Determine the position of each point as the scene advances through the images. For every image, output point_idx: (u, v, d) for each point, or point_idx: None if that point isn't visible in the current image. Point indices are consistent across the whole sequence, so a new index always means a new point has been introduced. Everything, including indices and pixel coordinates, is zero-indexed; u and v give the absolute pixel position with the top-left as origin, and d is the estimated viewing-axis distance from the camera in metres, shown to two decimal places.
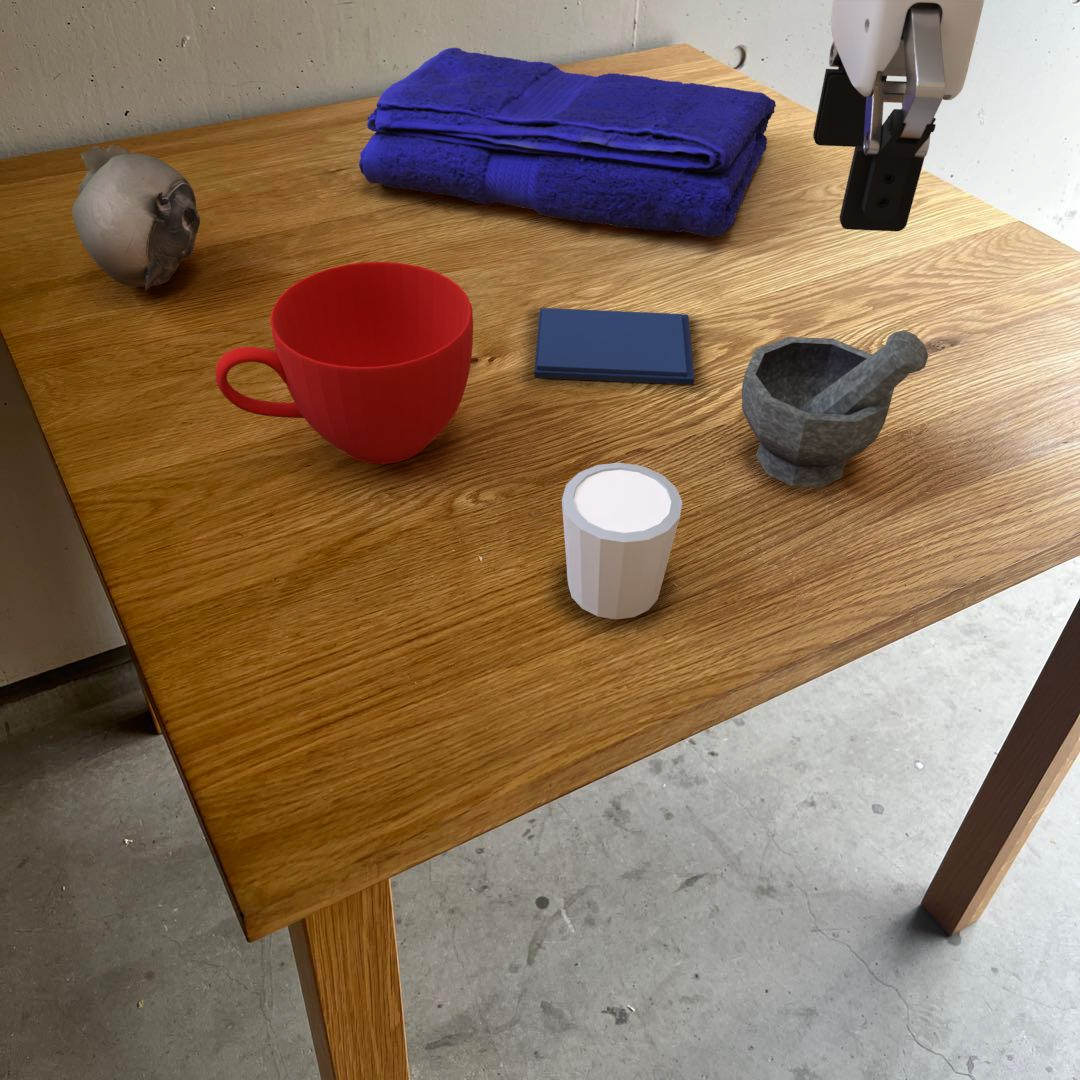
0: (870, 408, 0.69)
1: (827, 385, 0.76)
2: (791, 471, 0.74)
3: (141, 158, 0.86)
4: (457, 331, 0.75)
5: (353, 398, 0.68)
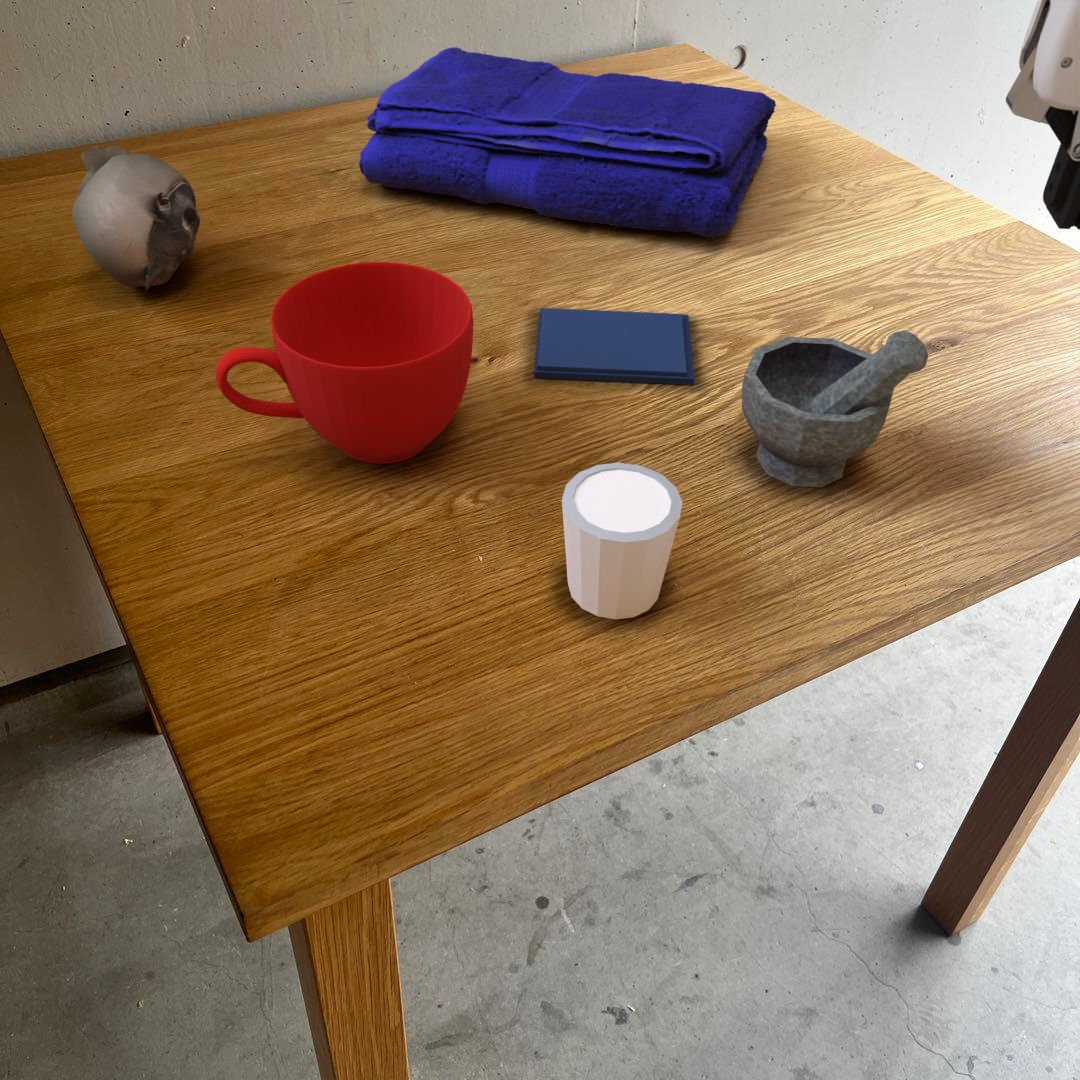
0: (870, 408, 0.69)
1: (827, 385, 0.76)
2: (791, 471, 0.74)
3: (141, 158, 0.86)
4: (457, 331, 0.75)
5: (353, 398, 0.68)
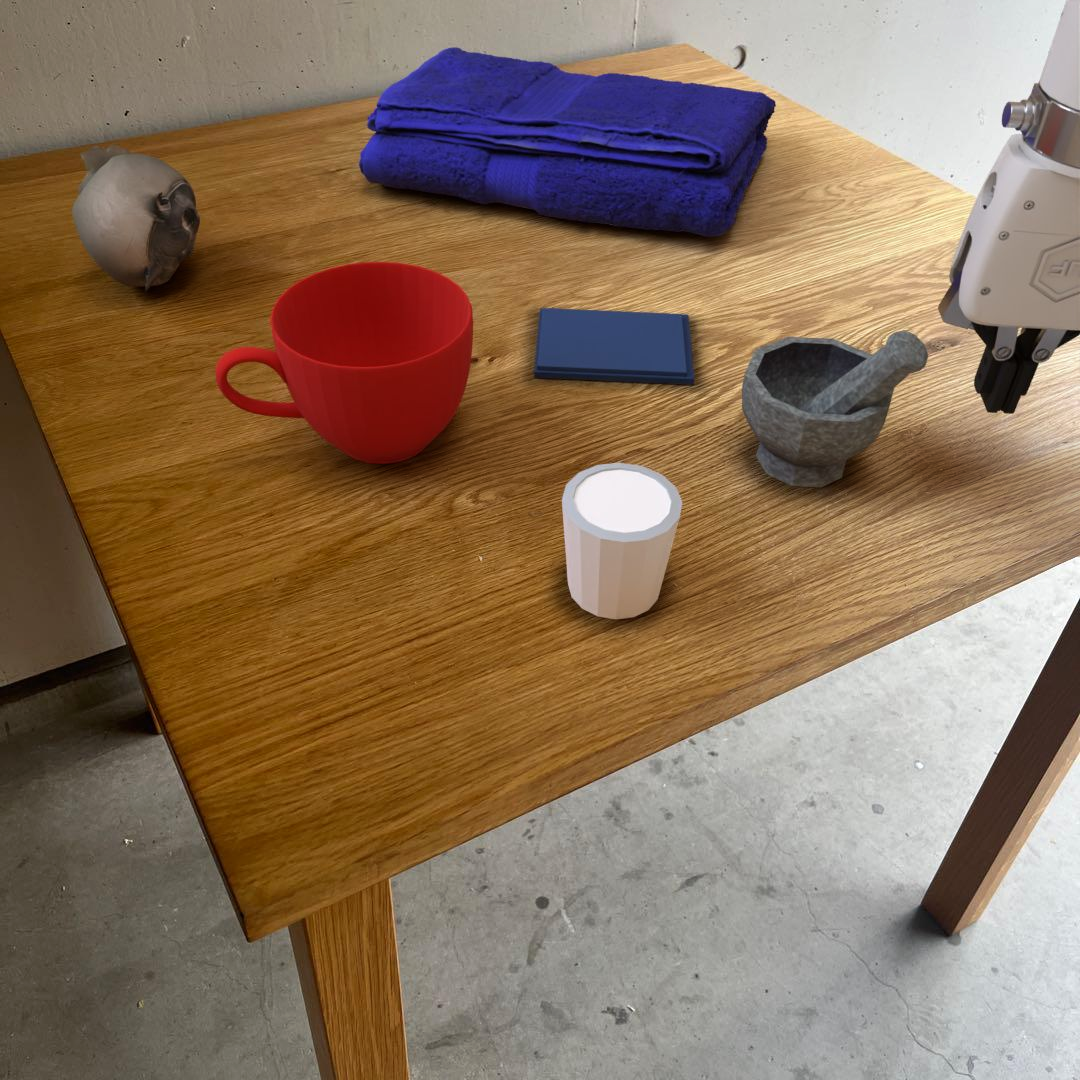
0: (870, 408, 0.69)
1: (827, 385, 0.76)
2: (791, 471, 0.74)
3: (141, 158, 0.86)
4: (457, 331, 0.75)
5: (353, 398, 0.68)
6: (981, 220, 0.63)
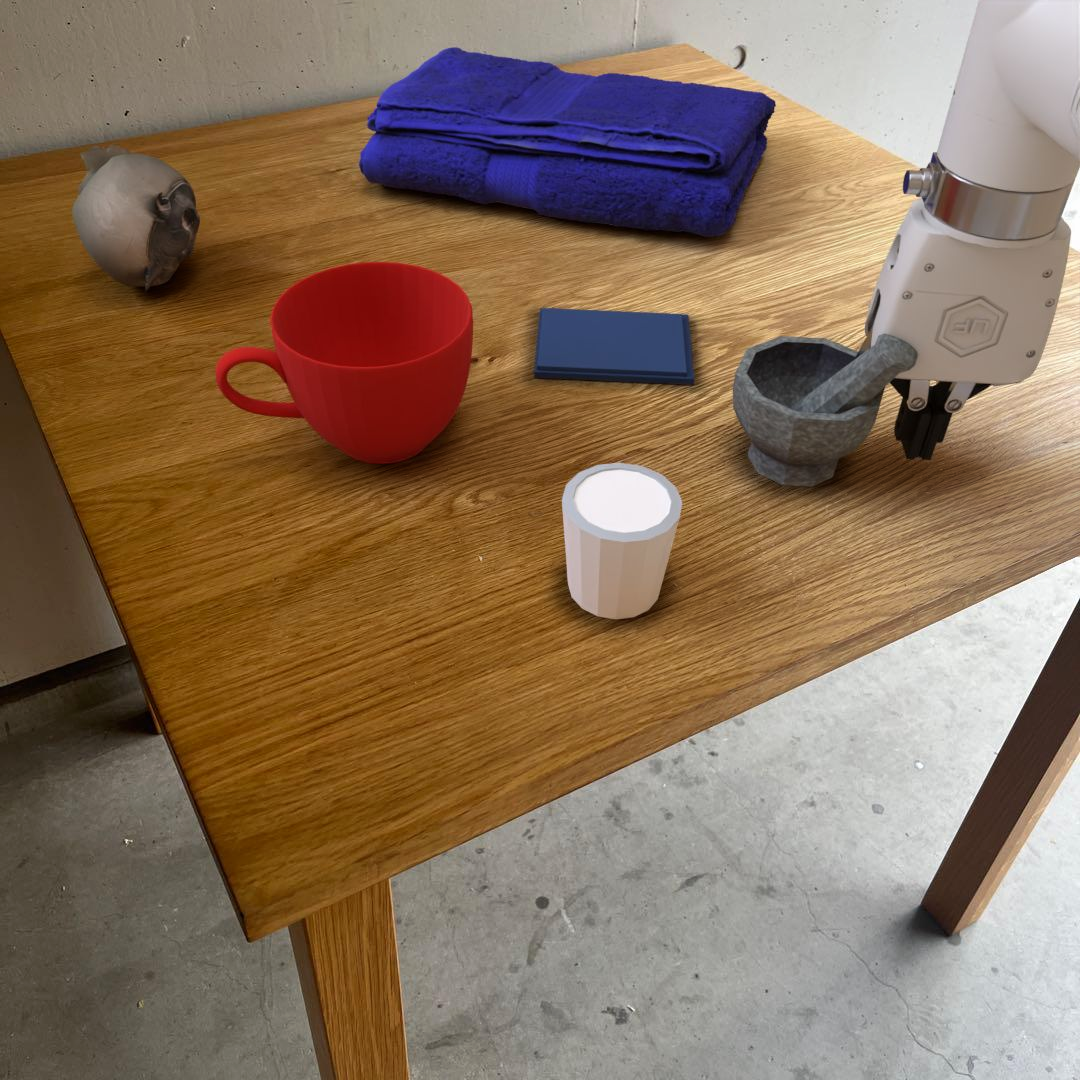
0: (860, 407, 0.70)
1: (819, 384, 0.76)
2: (782, 471, 0.74)
3: (141, 158, 0.86)
4: (457, 331, 0.75)
5: (353, 398, 0.68)
6: (888, 280, 0.66)
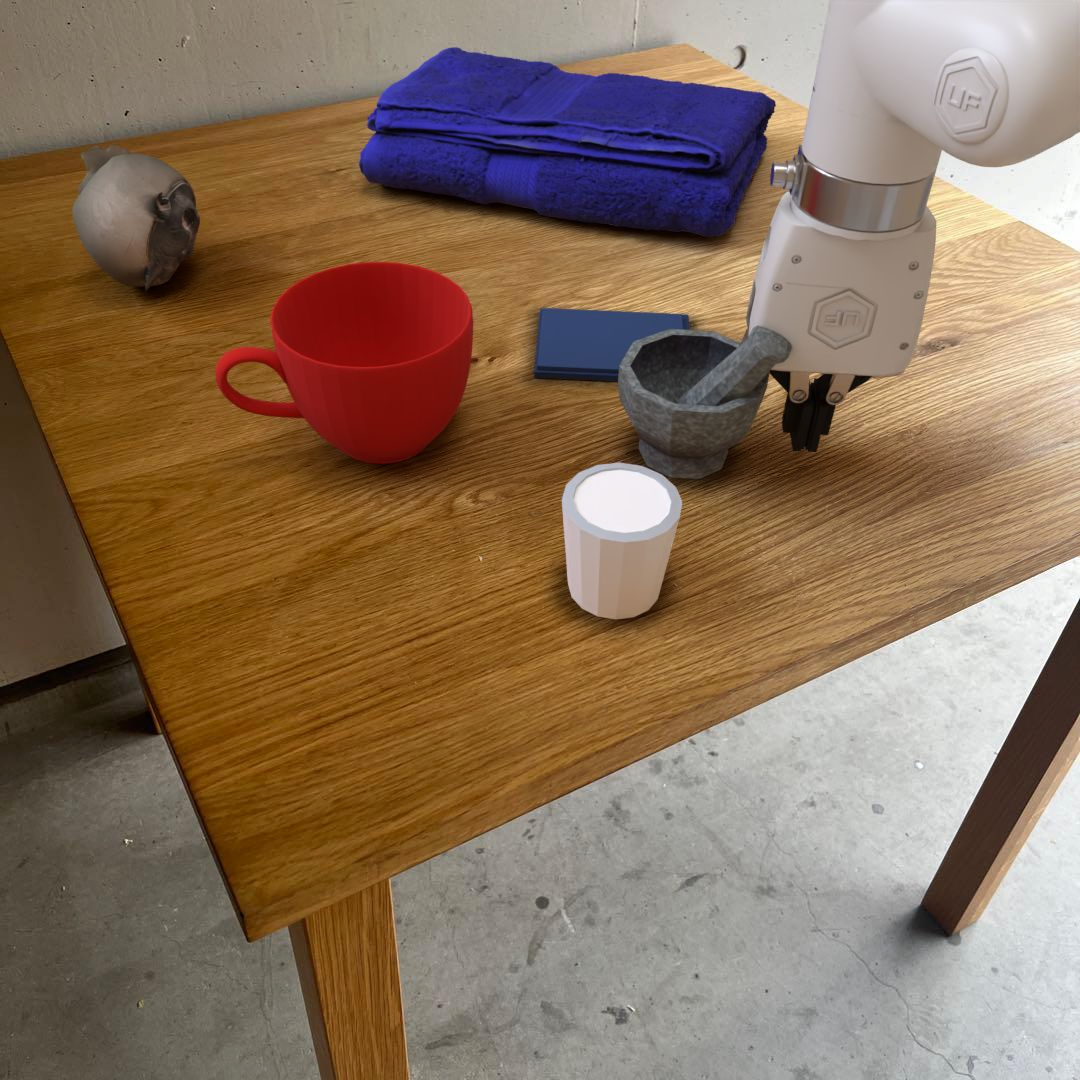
0: (739, 399, 0.70)
1: None
2: (669, 463, 0.74)
3: (141, 158, 0.86)
4: (457, 331, 0.75)
5: (353, 398, 0.68)
6: (760, 272, 0.66)
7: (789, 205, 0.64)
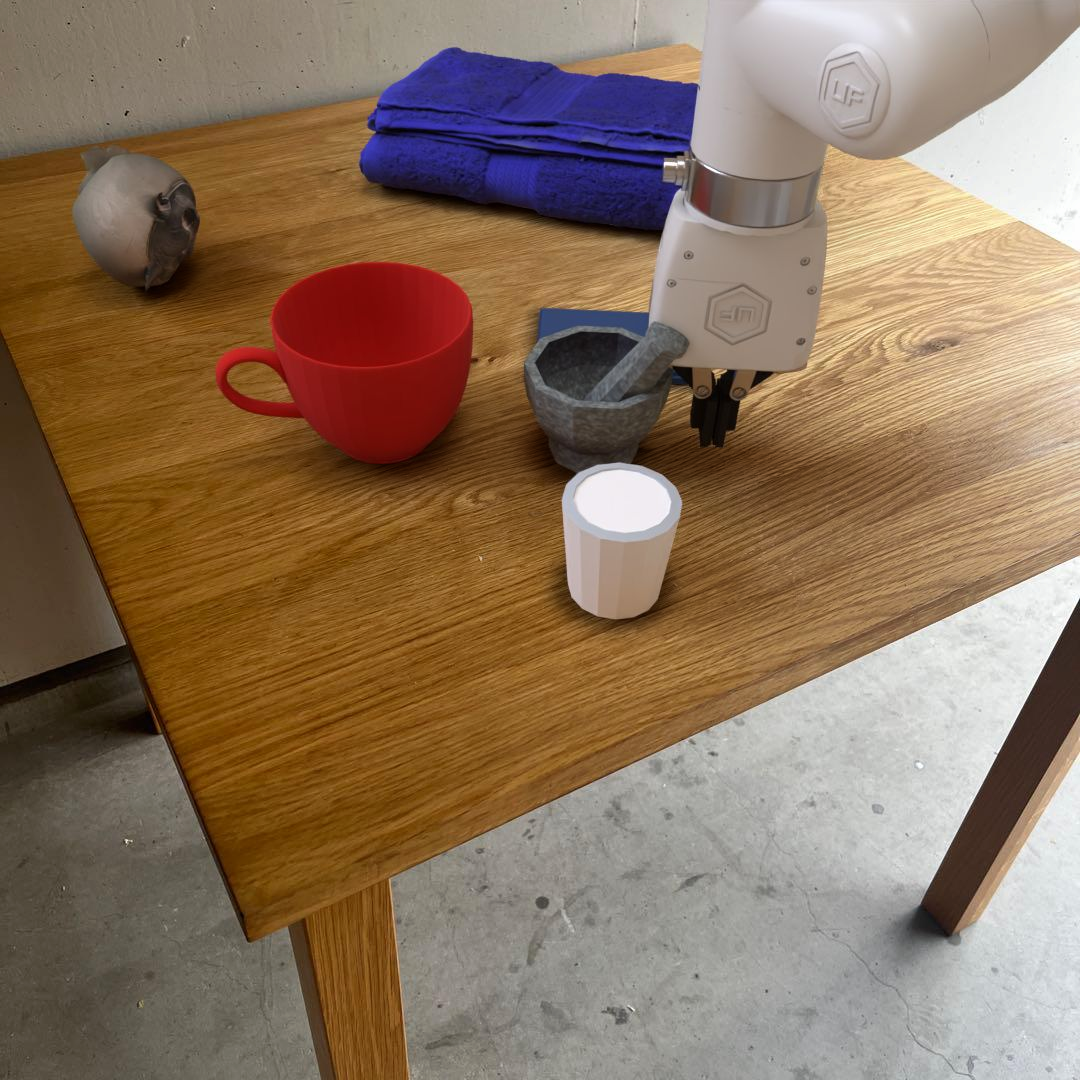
0: (641, 395, 0.70)
1: None
2: (576, 459, 0.74)
3: (141, 158, 0.86)
4: (457, 331, 0.75)
5: (353, 398, 0.68)
6: (657, 267, 0.66)
7: (682, 201, 0.64)
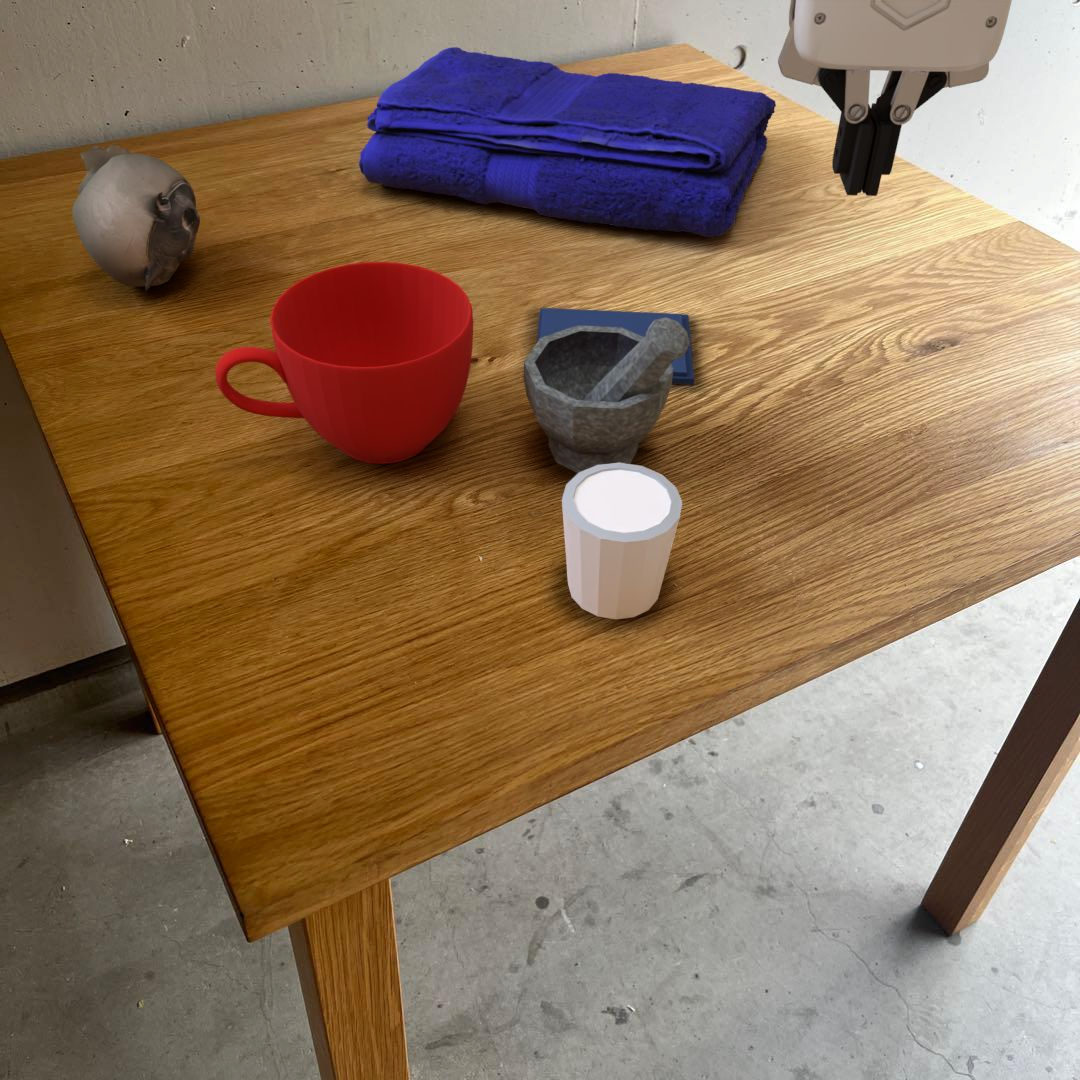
0: (641, 395, 0.70)
1: None
2: (576, 459, 0.74)
3: (141, 158, 0.86)
4: (457, 331, 0.75)
5: (353, 398, 0.68)
6: None
7: None
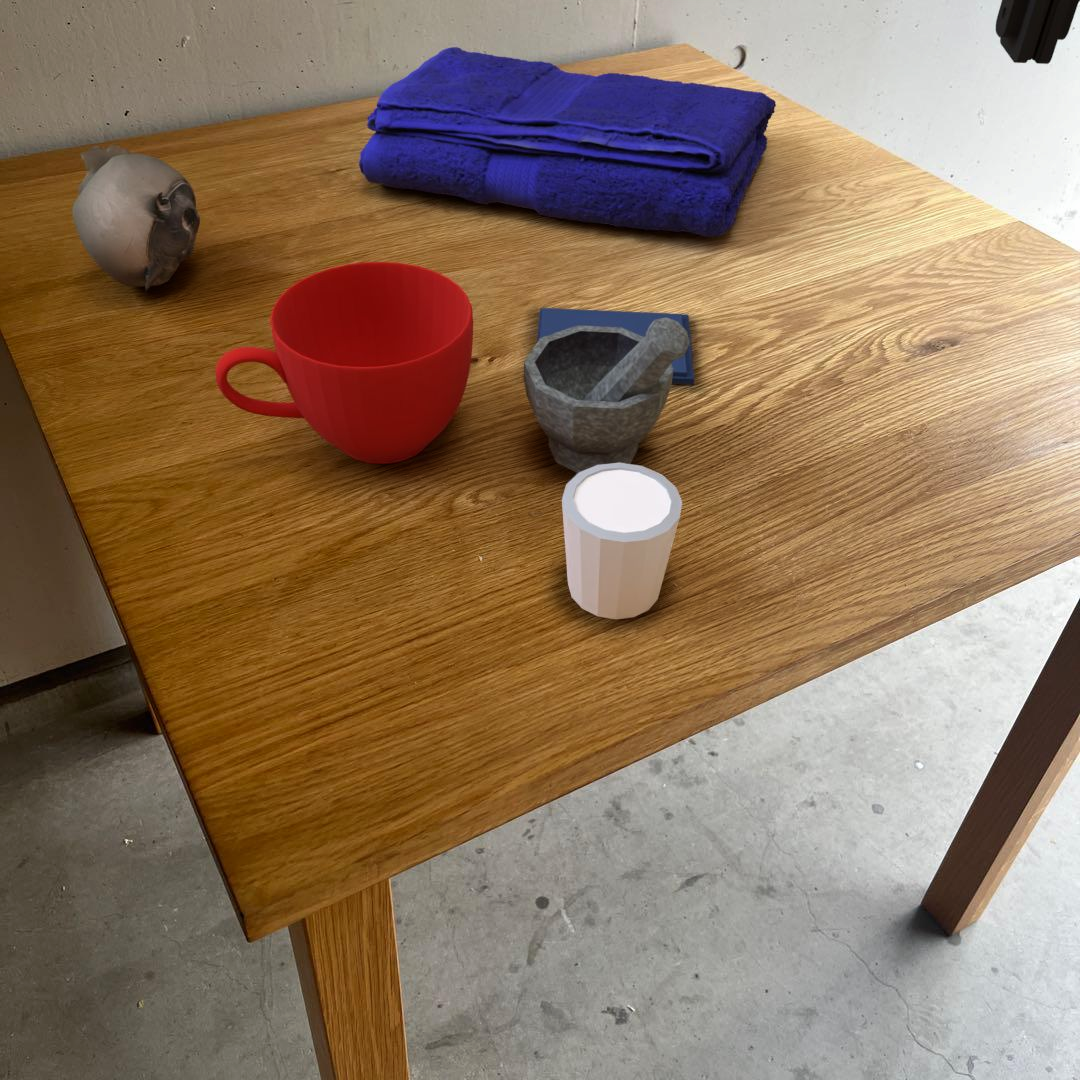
0: (641, 395, 0.70)
1: None
2: (576, 459, 0.74)
3: (141, 158, 0.86)
4: (457, 331, 0.75)
5: (353, 398, 0.68)
6: None
7: None
